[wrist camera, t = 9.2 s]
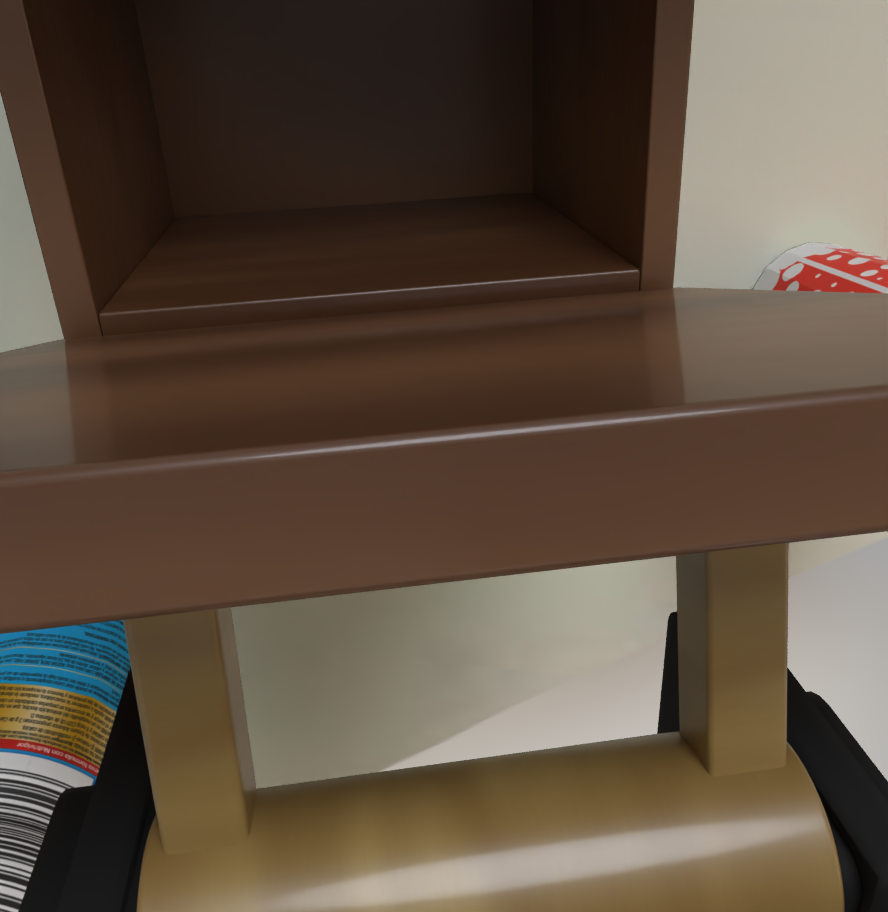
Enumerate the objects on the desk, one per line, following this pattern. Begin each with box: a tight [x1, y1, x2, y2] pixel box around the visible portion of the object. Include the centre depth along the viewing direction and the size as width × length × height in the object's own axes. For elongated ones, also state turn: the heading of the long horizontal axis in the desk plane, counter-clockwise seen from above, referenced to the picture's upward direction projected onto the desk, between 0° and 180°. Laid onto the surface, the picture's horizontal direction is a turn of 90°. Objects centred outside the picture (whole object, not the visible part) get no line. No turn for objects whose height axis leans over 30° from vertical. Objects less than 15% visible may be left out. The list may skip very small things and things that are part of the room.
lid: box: [0, 288, 888, 912], centre depth 12 cm, size 14×14×5 cm
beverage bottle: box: [0, 620, 131, 912], centre depth 26 cm, size 8×8×20 cm
